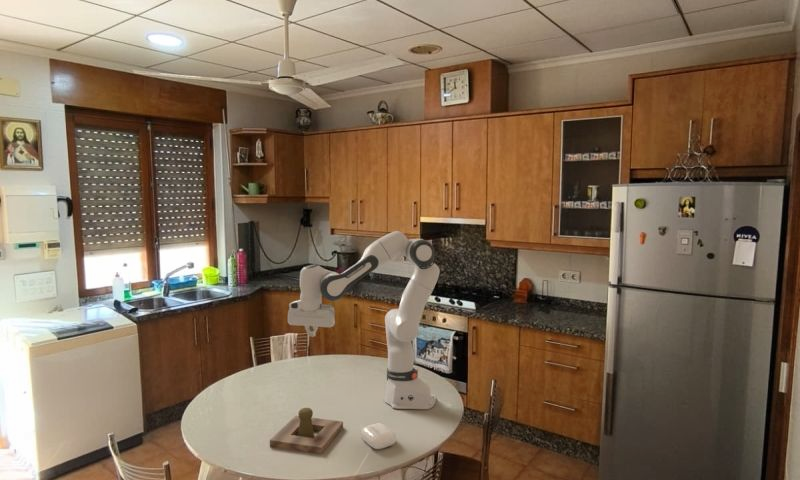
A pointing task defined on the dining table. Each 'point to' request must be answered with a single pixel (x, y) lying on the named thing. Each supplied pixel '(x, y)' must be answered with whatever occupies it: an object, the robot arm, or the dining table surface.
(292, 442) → the walnut dock
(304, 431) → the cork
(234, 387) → the dining table surface
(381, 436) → the earbud case
